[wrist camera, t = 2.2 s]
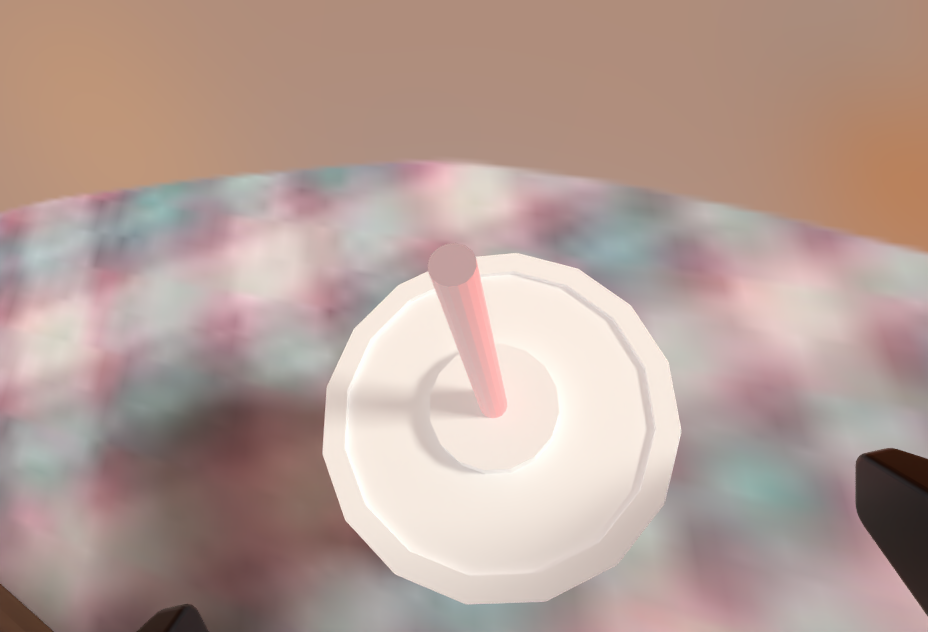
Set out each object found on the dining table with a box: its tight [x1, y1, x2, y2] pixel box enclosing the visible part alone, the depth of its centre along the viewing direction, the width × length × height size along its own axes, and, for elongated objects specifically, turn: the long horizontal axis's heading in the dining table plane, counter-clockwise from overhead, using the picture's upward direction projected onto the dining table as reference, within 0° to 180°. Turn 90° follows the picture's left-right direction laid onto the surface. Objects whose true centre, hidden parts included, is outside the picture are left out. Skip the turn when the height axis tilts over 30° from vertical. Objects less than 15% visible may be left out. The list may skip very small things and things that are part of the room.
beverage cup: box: [322, 243, 681, 604], centre depth 12 cm, size 6×6×14 cm
